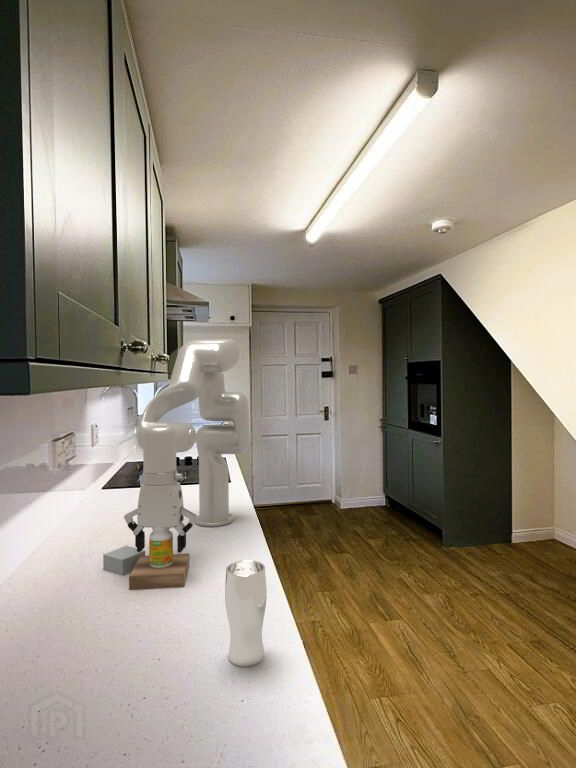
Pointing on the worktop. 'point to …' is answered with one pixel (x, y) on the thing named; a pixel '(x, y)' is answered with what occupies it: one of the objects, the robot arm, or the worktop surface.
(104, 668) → the worktop surface
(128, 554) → the slate block
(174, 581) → the walnut block
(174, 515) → the robot arm
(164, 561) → the supplement bottle
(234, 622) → the beer glass
